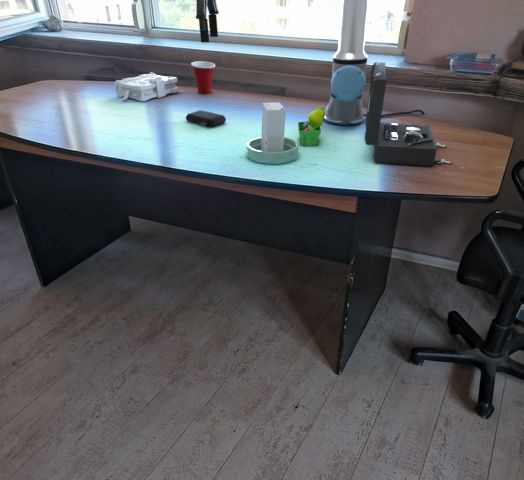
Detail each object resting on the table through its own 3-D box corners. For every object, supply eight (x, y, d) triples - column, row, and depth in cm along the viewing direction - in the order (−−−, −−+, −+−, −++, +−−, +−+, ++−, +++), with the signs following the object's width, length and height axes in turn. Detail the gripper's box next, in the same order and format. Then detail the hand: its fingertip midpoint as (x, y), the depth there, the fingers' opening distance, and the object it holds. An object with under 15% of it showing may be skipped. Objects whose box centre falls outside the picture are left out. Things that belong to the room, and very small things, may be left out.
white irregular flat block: (106, 98, 215) (102, 79, 210) (151, 87, 232) (149, 69, 227) (136, 105, 206) (132, 85, 201) (181, 92, 224) (179, 74, 219)
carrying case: (181, 122, 186) (209, 129, 180) (180, 114, 184) (209, 121, 178) (200, 116, 193) (228, 123, 186) (199, 108, 191) (228, 114, 184)
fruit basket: (297, 136, 174) (298, 102, 166) (321, 136, 174) (324, 102, 166) (297, 146, 165) (299, 111, 158) (323, 147, 165) (326, 111, 158)
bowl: (299, 149, 163) (300, 137, 161) (294, 166, 151) (295, 154, 148) (251, 146, 165) (251, 135, 162) (242, 163, 152) (242, 151, 150)
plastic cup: (207, 96, 218) (205, 66, 210) (188, 93, 222) (186, 63, 215) (221, 91, 225) (220, 62, 217) (202, 88, 229) (201, 60, 222)
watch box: (451, 168, 150) (474, 80, 134) (360, 162, 153) (372, 76, 137) (442, 142, 169) (461, 62, 153) (362, 138, 173) (372, 59, 157)
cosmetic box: (260, 151, 160) (260, 102, 150) (278, 150, 161) (279, 101, 151) (266, 159, 154) (266, 109, 144) (284, 158, 155) (286, 108, 145)
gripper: (200, -40, 163) (207, 35, 177) (180, -39, 144) (190, 44, 158) (222, -41, 162) (227, 34, 176) (205, -40, 143) (212, 44, 157)
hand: (209, 39), depth 167 cm, fingers open, 13 cm apart
